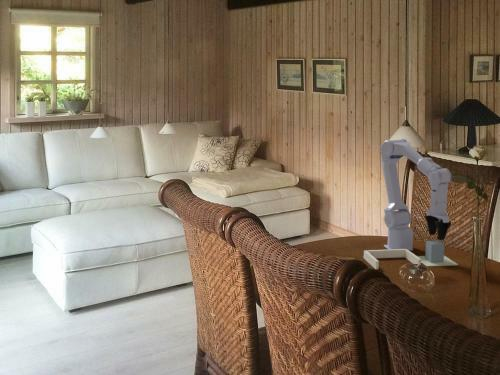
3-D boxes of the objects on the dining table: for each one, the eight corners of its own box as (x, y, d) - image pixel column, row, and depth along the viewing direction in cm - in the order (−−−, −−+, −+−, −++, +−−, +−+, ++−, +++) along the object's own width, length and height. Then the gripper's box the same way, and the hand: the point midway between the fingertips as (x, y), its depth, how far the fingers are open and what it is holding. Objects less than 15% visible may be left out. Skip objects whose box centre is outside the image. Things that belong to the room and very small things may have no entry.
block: (437, 258, 230) (438, 240, 229) (443, 262, 226) (444, 243, 224) (425, 258, 230) (426, 240, 229) (430, 262, 225) (431, 244, 224)
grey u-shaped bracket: (406, 256, 234) (406, 248, 233) (420, 267, 220) (421, 259, 220) (363, 258, 232) (363, 250, 231) (375, 269, 218) (376, 261, 218)
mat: (443, 255, 234) (443, 255, 234) (458, 265, 223) (458, 264, 223) (413, 257, 233) (413, 256, 233) (426, 266, 221) (426, 265, 221)
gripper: (420, 197, 230) (418, 232, 233) (436, 205, 216) (434, 242, 219) (438, 197, 231) (436, 231, 234) (455, 205, 217) (453, 241, 219)
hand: (436, 237), depth 226 cm, fingers open, 7 cm apart
